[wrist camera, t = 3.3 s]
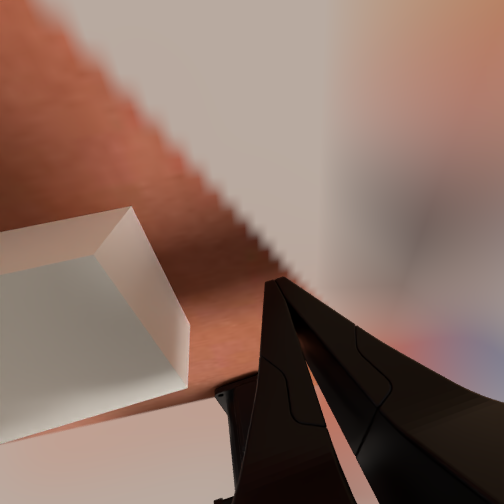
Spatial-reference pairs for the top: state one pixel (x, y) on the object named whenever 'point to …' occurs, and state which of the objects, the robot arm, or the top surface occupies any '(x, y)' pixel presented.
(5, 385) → the carton
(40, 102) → the top surface
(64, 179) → the top surface
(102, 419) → the top surface
